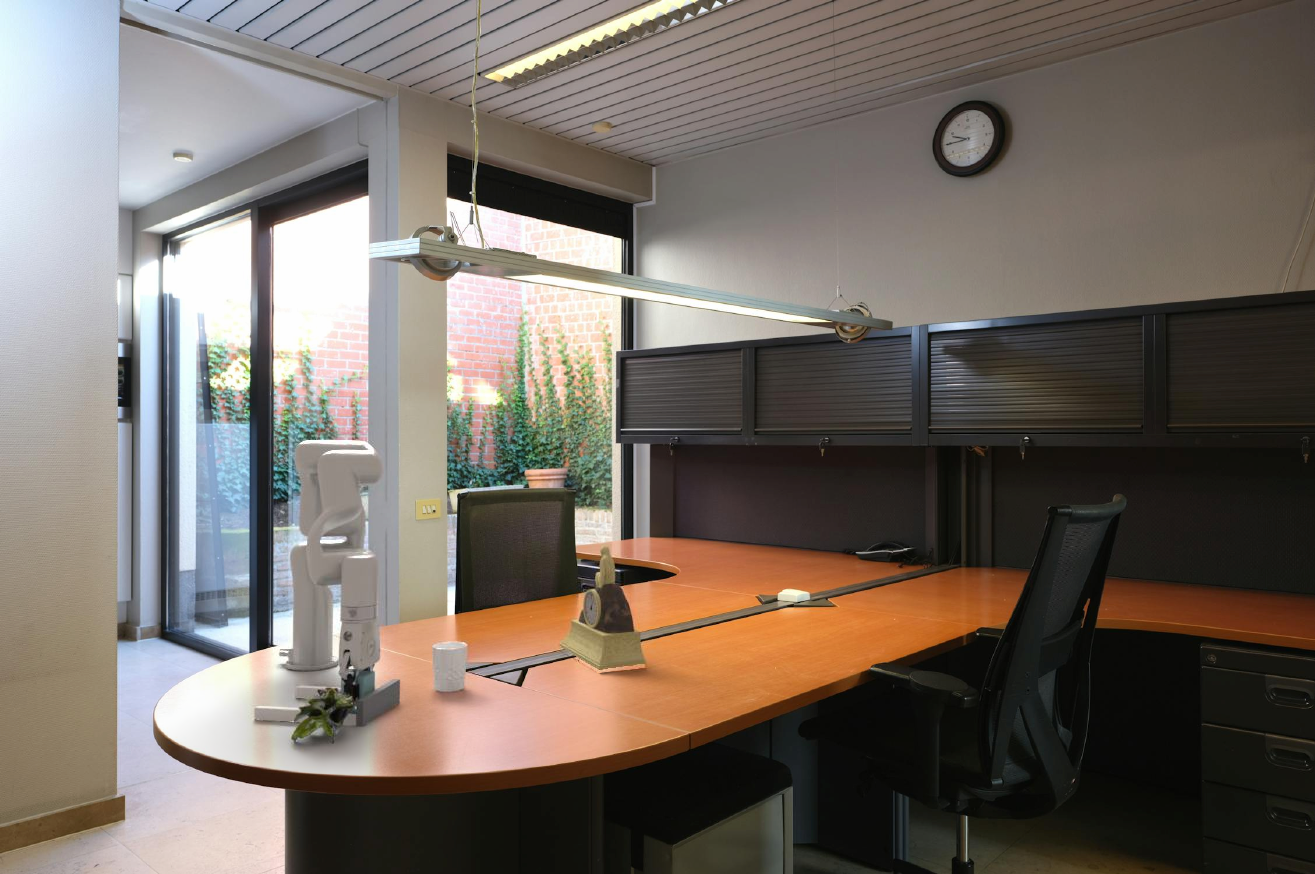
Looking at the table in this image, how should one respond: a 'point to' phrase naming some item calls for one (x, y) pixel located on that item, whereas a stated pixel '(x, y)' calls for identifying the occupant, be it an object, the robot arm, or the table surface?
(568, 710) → the table surface
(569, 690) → the table surface
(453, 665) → the white cup
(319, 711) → the passion flower
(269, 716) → the guide channel
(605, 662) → the decorative clock
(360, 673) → the block
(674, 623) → the table surface
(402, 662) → the table surface
